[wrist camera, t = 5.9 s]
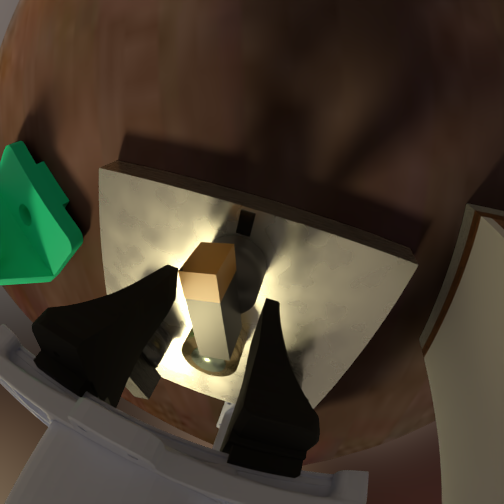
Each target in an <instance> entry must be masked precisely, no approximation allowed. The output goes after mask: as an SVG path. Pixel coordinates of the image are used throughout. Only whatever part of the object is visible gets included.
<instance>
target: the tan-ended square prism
mask: <svg viewBox="0 0 504 504" xmlns="http://www.w3.org/2000/svg"><path fill="white" fill-rule="evenodd" d="M266 269H267V263H266V258H265V256H264V254H263V252H262V250H261V249H260V248H259V247H258V246H257V245H256V244H255V243H254V242H253V241H251V240H249V239H247V238H245V237H242V236H238V235H225V236H222V237H219V238H218V239H216V240H215V241H213V242H212V243H211V242H200V244H199V245H198V246H197V247H196V249H195V250H194V251H193V252H192V254H191V255H190V256H189V258H188V259H187V260H186V261H185V263H184V264H183V265H182V267H181V268H180V269H179V270H178V273H179V278H180V282H181V286H182V291H183V295H184V298H185V301H186V305H187V309H188V313H189V317H190V321H191V324H192V328H193V332H194V336H195V339H196V343H197V347H198V350H199V354H200V356H206V357H211V358H217V359H223V360H229V361H230V359H231V356H232V353H233V351H234V348H235V345H236V342H237V340H238V337H239V334H240V331H241V329H242V322H241V314H242V313H244V312H247V311H248V310H250V309H251V308H252V307H253V306H254V304H255V303H256V300H257V297H258V294H259V291H260V288H261V285H262V282H263V279H264V276H265V273H266Z"/></svg>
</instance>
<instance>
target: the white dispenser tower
mask: <svg viewBox="0 0 504 504" xmlns="http://www.w3.org/2000/svg"><path fill="white" fill-rule="evenodd" d="M419 340H420V344H421V348H422V352H423V356H424V360H425V364H426V369H427V373H428V378H429V383H430V388H431V393H432V399H433V404H434V410H435V417H436V424H437V430H438V438H439V439H438V440H439V449H440V461H441V476H442V504H504V211H501V210H497V209H492V208H488V207H483V206H478V205H473V204H468V203H467V204H466V208H465V212H464V217H463V221H462V225H461V228H460V232H459V236H458V239H457V243H456V246H455V249H454V253H453V256H452V259H451V262H450V265H449V268H448V271H447V274H446V276H445V279H444V282H443V285H442V287H441V290H440V292H439V295H438V298H437V300H436V303H435V305H434V307H433V310H432V312H431V314H430V317H429V319H428V321H427V323H426V326H425V328H424V330H423V332H422V334H421V336H420V338H419Z"/></svg>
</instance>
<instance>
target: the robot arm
mask: <svg viewBox="0 0 504 504" xmlns="http://www.w3.org/2000/svg"><path fill="white" fill-rule="evenodd" d="M177 278H178V268H177V267H174V266H171V265H168V264H167V265H165V266H163V267H161V268H160V269H158V270H156V271H155V272H153V273H151V274H149V275H148V276H146V277H144V278H142V279H140V280H139V281H137V282H135V283H133V284H131V285H129V286H127V287H125V288H123V289H121V290H118V291H116V292H114V293H111V294H109V295H106V296H103V297H100V298H97V299H93V300H90V301H87V302H83V303H78V304H73V305H68V306H60V307H50V308H47V309H46V310H45V311H44V312H43V313H42V314H41V315H40V316H39V317H38V318H37V319H36V321H35V322H34V323H33V324H32V331H33V333H34V336H35V338H36V340H37V342H38V344H39V346H40V348H41V351H40V352H39V354H38V355H37V356H34V355H33V354H32V353H30V352H29V351H28V350H27V349H25V348H24V347H23V346H22V345H21V343H20V341H19V339H18V337H17V336H16V335H15V334H14V333H13V332H12V331H11V330H10V329H9V328H8V327H7V326H5V325H4V324H2V325H1V326H0V383H1V385H2V386H4V387H5V389H7V391H9V392H10V393H11V394H12V395H13V396H14V397H15V398H16V399H17V400H18V401H19V402H20V403H21V404H22V405H23V406H24V407H26V408H27V409H28V410H29V411H30V412H31V413H32V414H34V415H35V416H36V417H37V418H39V420H41V421H42V422H43V423H44V424H46V425H47V426H48V429H47V430H46V432H45V433H44V435H43V437H42V438H41V440H40V441H39V443H38V445H37V446H36V448H35V450H34V451H33V453H32V455H31V456H30V458H29V460H28V461H27V463H26V465H25V467H24V468H23V470H22V472H21V474H20V475H19V477H18V479H17V481H16V483H15V484H14V486H13V488H12V490H11V492H10V494H9V496H8V498H7V500H6V501H5V504H366V501H367V490H368V474H369V473H368V472H367V471H354V470H342V471H338V472H336V473H335V474H324V473H317V472H310V471H302V470H301V469H302V463H303V460H305V458H306V452H307V450H309V449H310V448H311V447H313V446H314V445H315V444H317V442H318V441H319V435H320V428H319V417H318V415H317V414H316V412H315V411H314V409H313V408H312V406H311V405H310V403H309V402H308V400H307V398H306V396H305V394H304V393H303V391H302V389H301V387H300V385H299V382H298V380H297V378H296V376H295V374H294V371H293V369H292V366H291V363H290V360H289V357H288V354H287V350H286V346H285V342H284V338H283V332H282V327H281V319H280V303H279V301H275V300H272V299H269V298H266V300H265V303H264V306H263V308H262V311H261V314H260V317H259V320H258V323H257V325H256V328H255V332H254V335H253V338H252V341H251V344H250V349H249V354H248V359H247V363H246V368H245V373H244V378H243V382H242V386H241V389H240V393H239V396H238V399H237V402H236V404H233V403H230V402H227V401H225V403H224V406H223V409H222V412H221V415H220V417H219V420H218V423H217V427H218V428H219V431H218V434H217V437H216V439H215V442H214V445H213V448H212V449H211V448H208V447H205V446H202V445H199V444H196V443H193V442H191V441H188V440H185V439H183V438H180V437H177V436H175V435H172V434H170V433H167V432H165V431H162V430H160V429H158V428H156V427H153V426H151V425H149V424H147V423H145V422H142V421H140V420H138V419H136V418H134V417H132V416H130V415H128V414H126V413H124V412H122V411H120V410H118V409H116V407H117V405H118V402H119V400H120V397H121V395H122V392H123V390H124V388H125V385H126V383H127V381H128V379H129V377H130V374H131V372H132V370H133V368H134V366H135V364H136V362H137V360H138V358H139V357H140V355H141V353H142V351H143V349H144V348H145V346H146V344H147V343H148V342H149V340H150V339H151V337H152V336H153V334H154V333H155V332H156V330H157V329H158V327H159V326H160V324H161V323H162V322H163V320H164V319H165V317H166V316H167V314H168V313H169V311H170V309H171V307H172V305H173V303H174V301H175V299H176V291H177Z"/></svg>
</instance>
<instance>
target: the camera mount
mask: <svg viewBox="0 0 504 504" xmlns="http://www.w3.org/2000/svg"><path fill="white" fill-rule="evenodd" d="M68 202H69V199H68V198H67V196H66V195H65V193H64V192H63V190H62V189H61V187H60V186H59V184H58V183H57V181H56V180H55V178H54V177H53V175H52V173H51V172H50V170H49V169H48V167H47V166H46V164H45V162H44V161H43V162H41V163H38V164H36V163H35V161H34V159H33V158H32V156H31V154H30V152H29V151H28V149H27V147H26V145H25V144H24V142H23V141H18V142H15V143H12V144H10V145H7V146H6V147H5V149H4V152H3V155H2V159H1V162H0V285H11V284H26V283H40V282H50V281H51V280H53V279H54V278H55V277H56V276H57V275H58V274H59V273H60V272H61V271H62V269H63V268H64V267H65V265H66V264H67V263H68V261H69V260H70V259H71V257H72V256H73V255H74V253H75V252H76V251H77V250H78V248H79V247H80V246H81V245H82V243H83V235H82V233H81V231H80V229H79V228H78V226H77V225H76V223H75V222H74V221H73V219H72V218H71V216H70V215H69V214H68V212H67V211H66V209H65V207H66V206H67V204H68Z"/></svg>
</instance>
